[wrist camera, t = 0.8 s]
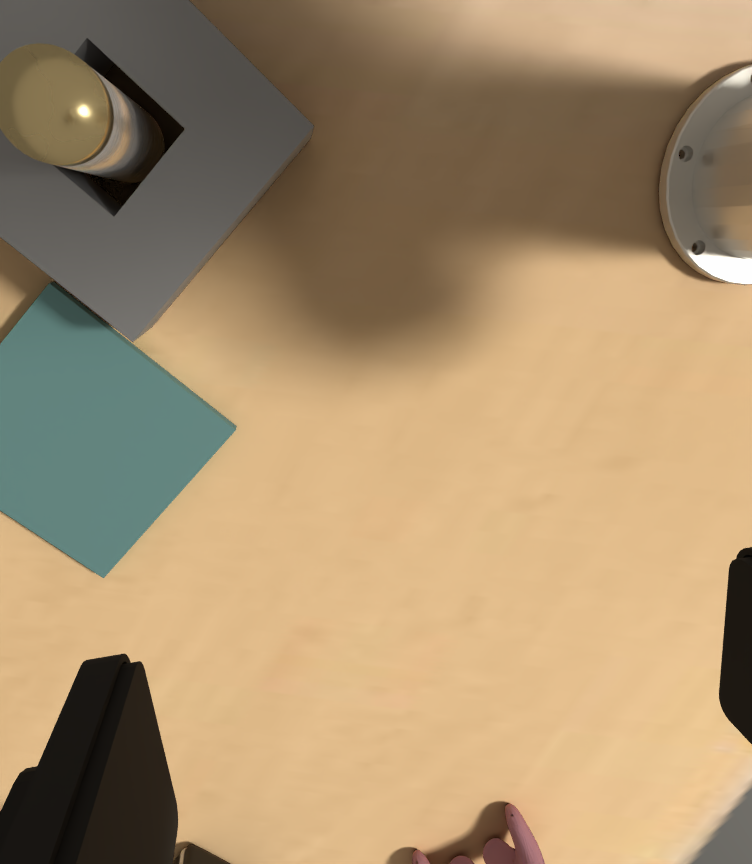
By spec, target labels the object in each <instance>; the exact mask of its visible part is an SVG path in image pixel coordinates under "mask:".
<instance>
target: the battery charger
mask: <svg viewBox="0 0 752 864" xmlns="http://www.w3.org/2000/svg"><path fill="white" fill-rule="evenodd" d="M173 864H230V863H228V862H226V861H224V860H222V859H221V858H219V857H217V856H215V855H213V854H211V853H209V852H207V851H205V850H203V849H201V848H199V847H197V846H195V845H190V846H188V847H186V848H184V849H183V850H182V851H181V854H180V855H179V856H178V857H177V858H176V860H175V861H174V863H173Z"/></svg>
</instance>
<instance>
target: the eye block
mask: <svg viewBox="0 0 752 864" xmlns="http://www.w3.org/2000/svg"><path fill="white" fill-rule="evenodd" d="M36 43H43V44H51V45H55V46H58V47H61V48H64V49H66V50H68V51H70V52H71V53H73V54H74V55H76V56H77V57H79V58H80V59H81V60H83V61H84V62H85V63H86V64H88V65H89V66H90V67H91V68H93V69H94V70H95V71H96V72H98V73H99V74H100V75H101V76H103V77H104V76H105V75H106V74H107V73H108V71H109V70H110V69H111V67H112V66H113V65H114V63H115V64H116V65H117V66H118V67H119V68H120V69H121V70H122V71H123V72H125V73H126V74H127V75H128V76H129V77H130V78H131V79H132V80H133V81H134V82H135V83H136V84H137V85H138V86H140V87H141V88H142V89H143V90H144V91H145V92H146V93H147V94H148V95H149V96H150V97H151V98H152V99H154V100H155V101H156V102H157V103H158V104H159V105H160V106H161V107H162V108H163V109H164V110H165V111H166V112H167V113H169V114H170V115H171V116H172V117H173V118H174V119H175V120H176V121H177V122H178V123H179V124H180V125H181V126H182V127H184V128H185V130H184V131H183V132H182V133H181V134H180V136H179V137H178V138H177V139H176V141H175V142H174V143H173V144H172V146H171V147H170V148H169V149H168V151H167V152H166V153H165V154H164V156H163V157H162V158H161V159H160V161H159V162H158V163H157V164H156V165H155V167H154V168H153V169H152V170H151V172H150V173H149V174H148V175H147V177H146V178H145V179H144V180H143V182H142V183H141V184H140V185H139V187H138V188H137V189H136V190H135V192H134V193H133V194H132V195H131V196H130V198H129V199H128V200H127V201H126V203H125V204H124V205H123V206H122V205H121V204H120V203H119V202H117V201H116V200H115V199H114V198H113V197H112V196H110V195H109V194H108V193H107V192H106V191H105V190H104V189H102V188H101V187H100V186H99V185H98V184H97V183H95V182H94V181H93V180H92V179H91V178H90V177H88V176H87V175H86V174H85V173H84V172H80V171H76V170H72V169H68V168H64V167H60V166H56V165H52V164H48V163H44V162H41V161H38V160H35V159H33V158H31V157H29V156H27V155H26V154H24V153H22V152H21V151H20V150H18V149H17V148H16V147H15V146H14V145H13V144H12V143H11V142H10V141H9V140H8V139H7V138H6V136H5V135H4V133H3V132H2V130H1V129H0V237H1V238H2V239H3V240H5V241H6V242H7V243H8V244H10V245H11V246H12V247H13V248H15V249H16V250H17V251H18V252H20V253H21V254H22V255H23V256H25V257H26V258H27V259H29V260H30V261H31V262H32V263H34V264H35V265H36V266H37V267H39V268H40V269H41V270H42V271H44V272H45V273H46V274H47V275H49V276H50V277H51V278H53V279H54V280H55V281H56V282H58V283H59V284H60V285H61V286H63V287H64V288H65V289H66V290H68V291H69V292H70V293H71V294H73V295H74V296H75V297H77V298H78V299H79V300H80V301H82V302H83V303H84V304H85V305H87V306H88V307H89V308H90V309H92V310H93V311H94V312H95V313H97V314H98V315H99V316H101V317H102V318H103V319H104V320H106V321H107V322H108V323H109V324H111V325H112V326H113V327H114V328H116V329H117V330H118V331H119V332H121V333H122V334H123V335H125V336H126V337H127V338H128V339H130V340H131V341H132V342H133V341H135V340H136V339H137V338H139V337H140V336H141V335H143V334H144V333H145V332H146V331H148V330H149V329H150V328H152V327H153V325H154V324H155V323H156V322H157V321H158V319H159V318H160V317H161V316H162V315H163V313H164V312H165V311H166V310H167V309H168V308H169V306H170V305H171V304H172V303H173V302H174V300H175V299H176V298H177V297H178V296H179V294H180V293H181V292H182V291H183V290H184V289H185V287H186V286H187V285H188V284H189V283H190V281H191V280H192V279H193V278H194V277H195V275H196V274H197V273H198V272H199V271H200V270H201V268H202V267H203V266H204V265H205V264H206V262H207V261H208V260H209V259H210V258H211V256H212V255H213V254H214V253H215V252H216V251H217V249H218V248H219V247H220V246H221V245H222V243H223V242H224V241H225V240H226V239H227V237H228V236H229V235H230V234H231V233H232V232H233V230H234V229H235V228H236V227H237V226H238V224H239V223H240V222H241V221H242V220H243V218H244V217H245V216H246V215H247V214H248V213H249V211H250V210H251V209H252V208H253V207H254V205H255V204H256V203H257V202H258V201H259V199H260V198H261V197H262V196H263V195H264V194H265V192H266V191H267V190H268V189H269V188H270V186H271V185H272V184H273V183H274V182H275V180H276V179H277V178H278V177H279V176H280V175H281V173H282V172H283V171H284V170H285V169H286V167H287V166H288V165H289V164H290V163H291V161H292V160H293V159H294V158H295V157H296V156H297V154H298V153H299V152H300V151H301V150H302V148H303V147H304V146H305V145H306V144H307V142H308V141H309V140H310V139H311V136H312V132H313V128H314V125H313V124H312V123H311V122H310V121H309V120H308V119H307V118H306V117H305V116H304V115H303V114H302V113H301V112H300V111H299V110H298V109H297V108H296V107H295V106H294V105H293V104H292V103H291V102H290V101H289V100H288V99H287V98H286V97H285V96H284V95H283V94H282V93H281V92H280V91H279V90H278V89H277V88H276V87H275V86H274V85H273V84H272V83H271V82H270V81H269V80H268V79H267V78H266V77H265V76H264V75H263V74H262V73H261V72H260V71H259V70H258V69H257V68H256V67H255V66H254V65H253V64H252V63H251V62H250V61H249V60H248V59H247V58H246V57H245V56H244V55H243V54H242V53H241V52H240V51H239V50H238V49H237V48H236V47H235V46H234V45H233V44H232V43H231V42H230V41H229V40H228V39H227V38H226V37H225V36H224V35H223V34H222V33H221V32H220V31H219V30H218V29H217V28H216V27H215V26H214V25H213V24H212V23H211V22H210V21H209V20H208V19H207V18H206V17H205V16H204V15H203V14H202V13H201V12H200V11H199V10H198V9H197V8H196V7H195V6H194V5H193V4H192V3H191V2H190V1H189V0H0V63H1V61H2V60H3V59H4V58H5V57H6V56H7V55H8V54H9V53H11V52H12V51H14V50H15V49H17V48H19V47H22V46H25V45H29V44H36Z"/></svg>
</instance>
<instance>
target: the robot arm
mask: <svg viewBox="0 0 752 864" xmlns="http://www.w3.org/2000/svg"><path fill="white" fill-rule="evenodd" d="M679 152H680V153H681V156H680V158H679ZM659 201H660V212H661V216H662V220H663V224H664V228H665V231H666V233H667V235H668V237H669V239H670V242H671V244H672V246H673V247H674V249H675V250H676V251H677V253H678V254H679V255H680V257H681V258H682V259H683V261H685V262H686V263H687V264H688V265H689V266H691V267H692V268H693V269H694V270H695V271H696V272H698V273H700V274H702V275H704V276H706V277H708V278H710V279H713V280H717V281H721V282H724V283H729V284H739V285H752V64H751V65H748V66H745V67H742V68H740V69H738V70H736V71H734V72H732V73H730V74H728V75H726V76H724V77H722V78H721V79H719V80H718V81H717V82H715V83H714V84H713V85H711V86H710V87H709V88H707V89H706V90H705V91H704V92H703V93H702V94H701V95H700V96H699V97H698V98H697V99H696V100H695V101H694V102H693V104H692V105H691V106H690V107H689V108H688V110H687V111H686V113H685V114H684V116H683V117H682V119H681V120H680V122H679V123H678V125H677V126H676V128H675V131H674V133H673V135H672V137H671V139H670V141H669V144H668V146H667V149H666V153H665V156H664V160H663V163H662V167H661V174H660V183H659ZM692 245H693V249H692ZM719 700H720V704H721V707H722V710H723V712H724V713H725V715H726V717H727V718H728V719H729V721H730V722H731V723H732V724H733V725H734V726H735V727H736V728H737V729H738V730H739V731H740V732H741V733H742V735H743V736H744V737H745V738H746V739H747V740H748V741H749V742H750V743H751V744H752V547H750V548H744V549H742V550H741V551H740V552H739V553H738V555H737V558H736V559H735V560H733V561H732V562H731V564H730V567H729V576H728V589H727V601H726V614H725V626H724V638H723V651H722V663H721V676H720V688H719ZM177 829H178V811H177V803H176V798H175V794H174V790H173V786H172V782H171V778H170V773H169V769H168V765H167V761H166V757H165V752H164V748H163V744H162V740H161V736H160V732H159V727H158V723H157V719H156V715H155V711H154V707H153V702H152V698H151V694H150V690H149V686H148V682H147V677H146V673H145V669H144V666H143V664H142V662H140V661H139V662H133V663H130V659H129V658H128V656H127V655H126V654H119V655H113V656H108V657H102V658H96V659H90V660H86V661H84V662H83V663H82V665H81V667H80V669H79V671H78V674H77V676H76V678H75V681H74V683H73V685H72V687H71V690H70V692H69V694H68V697H67V699H66V701H65V704H64V706H63V708H62V711H61V713H60V715H59V718H58V720H57V722H56V725H55V727H54V729H53V731H52V734H51V736H50V738H49V741H48V743H47V745H46V748H45V750H44V752H43V755H42V757H41V759H40V762H39V764H38V766H37V767H31V768H26V769H25V770H24V771H22V772H21V773H20V774H19V776H18V777H17V779H16V780H15V782H14V784H13V786H12V788H11V790H10V792H9V795H8V797H7V799H6V801H5V803H4V805H3V808H2V810H1V812H0V864H172V863H173V857H174V850H175V843H176V837H177Z"/></svg>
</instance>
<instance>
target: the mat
mask: <svg viewBox="0 0 752 864" xmlns="http://www.w3.org/2000/svg"><path fill="white" fill-rule="evenodd" d="M236 427H237V426H236V425H234V424H233V423H232V422H231V421H229V420H228V419H227V418H226V417H224V416H223V415H222V414H220V413H219V412H218V411H217V410H215V409H214V408H213V407H212V406H210V405H209V404H208V403H207V402H205V401H204V400H203V399H201V398H200V397H199V396H198V395H196V394H195V393H194V392H193V391H191V390H190V389H189V388H188V387H186V386H185V385H184V384H183V383H181V382H180V381H179V380H177V379H176V378H175V377H174V376H172V375H171V374H170V373H169V372H167V371H166V370H165V369H164V368H162V367H161V366H160V365H158V364H157V363H156V362H155V361H153V360H152V359H151V358H150V357H148V356H147V355H146V354H145V353H143V352H142V351H141V350H140V349H138V348H137V347H136V346H134V345H133V344H132V343H131V342H129V341H128V340H127V339H126V338H124V337H123V336H122V335H121V334H119V333H118V332H117V331H115V330H114V329H113V328H112V327H110V326H109V325H108V324H107V323H105V322H104V321H103V320H102V319H100V318H99V317H98V316H97V315H95V314H94V313H93V312H91V311H90V310H89V309H88V308H86V307H85V306H84V305H83V304H81V303H80V302H79V301H78V300H76V299H75V298H74V297H72V296H71V295H70V294H69V293H67V292H66V291H65V290H64V289H62V288H61V287H60V286H59V285H57V284H56V283H55V282H52V283H49V284H48V285H47V286H46V288H45V289H44V290H43V291H42V293H41V294H40V295H39V296H38V298H37V299H36V300H35V301H34V303H33V304H32V305H31V306H30V308H29V309H28V310H27V311H26V313H25V314H24V315H23V316H22V318H21V319H20V320H19V321H18V323H17V324H16V325H15V326H14V328H13V329H12V330H11V331H10V333H9V334H8V335H7V336H6V338H5V339H4V340H3V341H2V343H1V344H0V511H2V512H3V513H5V514H6V515H8V516H9V517H11V518H12V519H14V520H15V521H17V522H18V523H20V524H21V525H23V526H25V527H26V528H28V529H29V530H31V531H32V532H34V533H35V534H37V535H38V536H40V537H41V538H43V539H44V540H46V541H47V542H49V543H50V544H52V545H54V546H55V547H57V548H58V549H60V550H61V551H63V552H64V553H66V554H67V555H69V556H70V557H72V558H73V559H75V560H76V561H78V562H79V563H81V564H83V565H84V566H86V567H87V568H89V569H90V570H92V571H93V572H95V573H96V574H98V575H99V576H101V577H102V578H104V577H105V576H106V575H107V574H108V573H109V572H110V570H111V569H112V568H113V567H114V566H115V565H116V564H117V563H118V562H119V560H120V559H121V558H122V557H123V556H124V555H125V554H126V553H127V551H128V550H129V549H130V548H131V547H132V546H133V545H134V544H135V542H136V541H137V540H138V539H139V538H140V537H141V536H142V535H143V533H144V532H145V531H146V530H147V529H148V528H149V527H150V526H151V524H152V523H153V522H154V521H155V520H156V519H157V518H158V517H159V516H160V514H161V513H162V512H163V511H164V510H165V509H166V508H167V507H168V505H169V504H170V503H171V502H172V501H173V500H174V499H175V498H176V496H177V495H178V494H179V493H180V492H181V491H182V490H183V489H184V487H185V486H186V485H187V484H188V483H189V482H190V481H191V480H192V478H193V477H194V476H195V475H196V474H197V473H198V472H199V471H200V470H201V468H202V467H203V466H204V465H205V464H206V463H207V462H208V461H209V459H210V458H211V457H212V456H213V455H214V454H215V453H216V452H217V450H218V449H219V448H220V447H221V446H222V445H223V444H224V443H225V441H226V440H227V439H228V438H229V437H230V436H231V435H232V434H233V433H234V431H235V430H236Z"/></svg>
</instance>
